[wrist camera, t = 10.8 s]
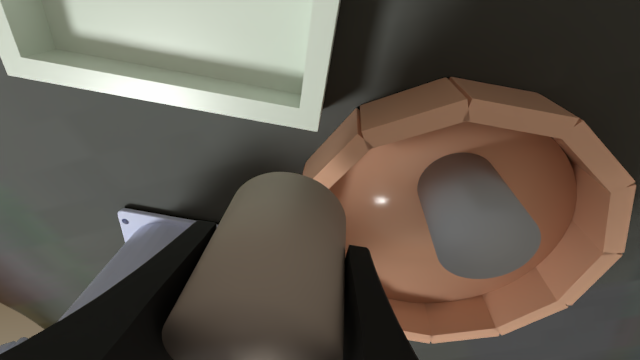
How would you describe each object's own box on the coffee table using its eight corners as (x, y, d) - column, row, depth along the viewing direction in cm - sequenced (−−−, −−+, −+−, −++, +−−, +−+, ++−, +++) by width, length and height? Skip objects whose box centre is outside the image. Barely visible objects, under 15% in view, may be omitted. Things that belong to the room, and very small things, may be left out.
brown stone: (338, 267, 13) (332, 407, 9) (234, 254, 13) (178, 386, 9) (354, 180, 10) (355, 314, 6) (225, 164, 10) (142, 287, 6)
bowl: (498, 315, 26) (516, 358, 23) (287, 278, 26) (279, 317, 23) (663, 116, 16) (733, 146, 13) (322, 52, 16) (315, 69, 13)
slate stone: (480, 217, 19) (515, 283, 15) (409, 210, 19) (426, 273, 15) (508, 156, 17) (560, 214, 13) (427, 148, 17) (452, 203, 13)
